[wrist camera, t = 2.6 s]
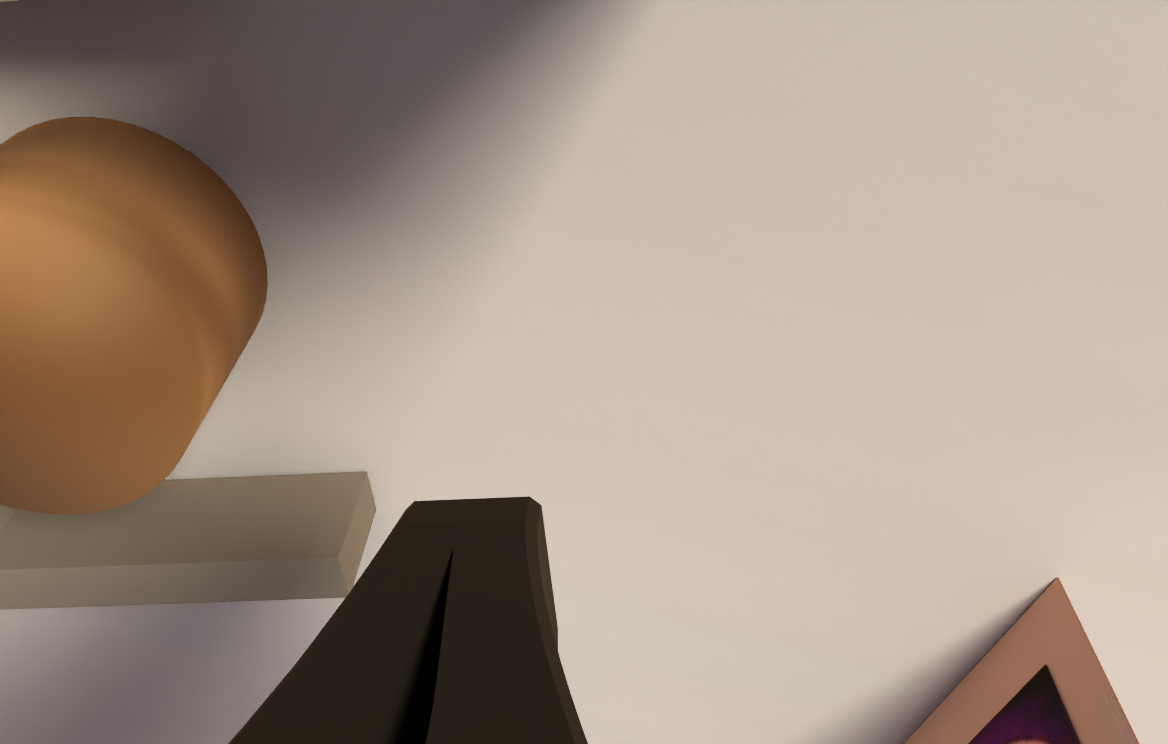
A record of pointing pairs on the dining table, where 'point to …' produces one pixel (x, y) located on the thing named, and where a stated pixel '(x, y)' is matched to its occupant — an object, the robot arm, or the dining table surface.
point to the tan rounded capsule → (113, 309)
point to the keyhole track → (193, 544)
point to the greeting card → (1033, 688)
